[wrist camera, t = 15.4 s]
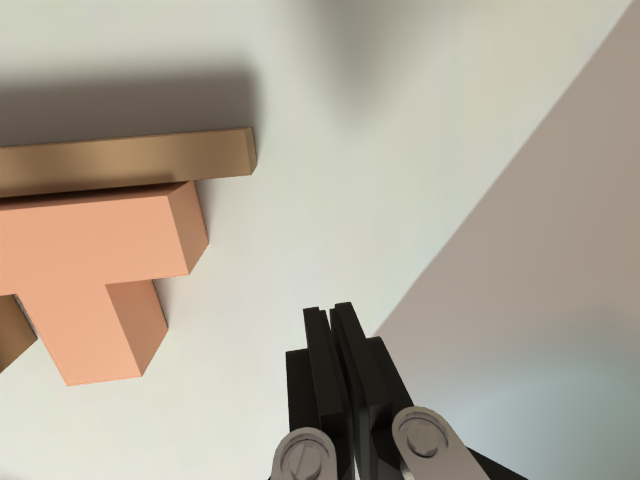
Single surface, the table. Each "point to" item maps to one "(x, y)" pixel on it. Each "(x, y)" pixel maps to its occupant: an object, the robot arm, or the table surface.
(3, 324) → the walnut fence
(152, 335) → the t block
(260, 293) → the table surface
